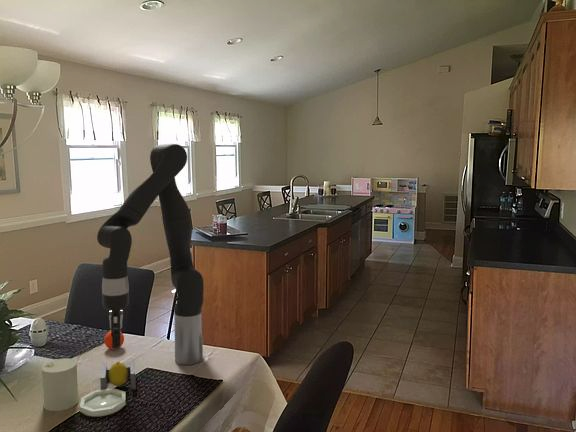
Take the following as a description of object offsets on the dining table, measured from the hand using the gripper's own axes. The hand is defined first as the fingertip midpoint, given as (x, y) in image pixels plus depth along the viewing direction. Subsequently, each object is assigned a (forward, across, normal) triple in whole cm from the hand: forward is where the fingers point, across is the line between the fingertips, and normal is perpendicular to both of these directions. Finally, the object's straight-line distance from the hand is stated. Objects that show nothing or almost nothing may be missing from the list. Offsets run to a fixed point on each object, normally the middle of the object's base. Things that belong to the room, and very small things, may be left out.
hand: (116, 342), depth 143 cm
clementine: (+15, +31, +2) cm, 34 cm away
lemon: (+15, 0, 0) cm, 15 cm away
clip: (+14, +2, 0) cm, 15 cm away
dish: (+14, -10, +4) cm, 18 cm away
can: (+15, -5, +15) cm, 22 cm away
